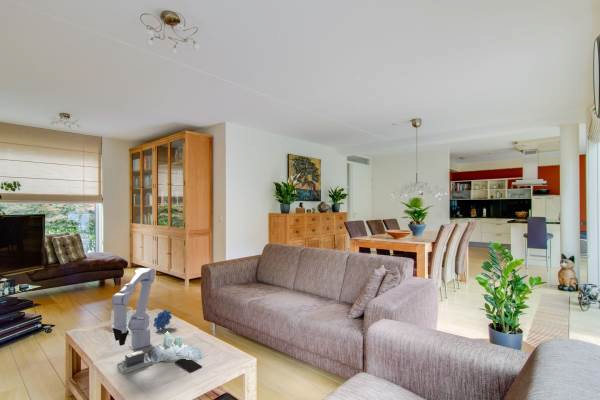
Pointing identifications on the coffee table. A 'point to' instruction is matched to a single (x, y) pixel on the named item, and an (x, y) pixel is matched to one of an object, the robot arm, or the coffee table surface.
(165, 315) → the grapes
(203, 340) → the coffee table surface
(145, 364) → the tray
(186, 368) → the smartphone
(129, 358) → the drive
